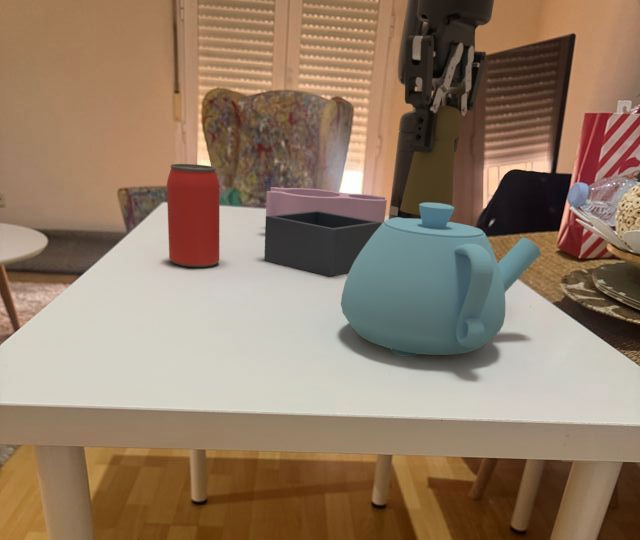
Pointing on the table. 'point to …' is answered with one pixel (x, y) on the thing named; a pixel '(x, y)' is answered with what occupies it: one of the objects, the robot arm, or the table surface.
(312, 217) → the caddy
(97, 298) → the table surface
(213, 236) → the beer can
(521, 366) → the table surface
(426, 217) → the teapot
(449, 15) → the robot arm
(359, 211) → the pink elongated piece
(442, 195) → the cork
